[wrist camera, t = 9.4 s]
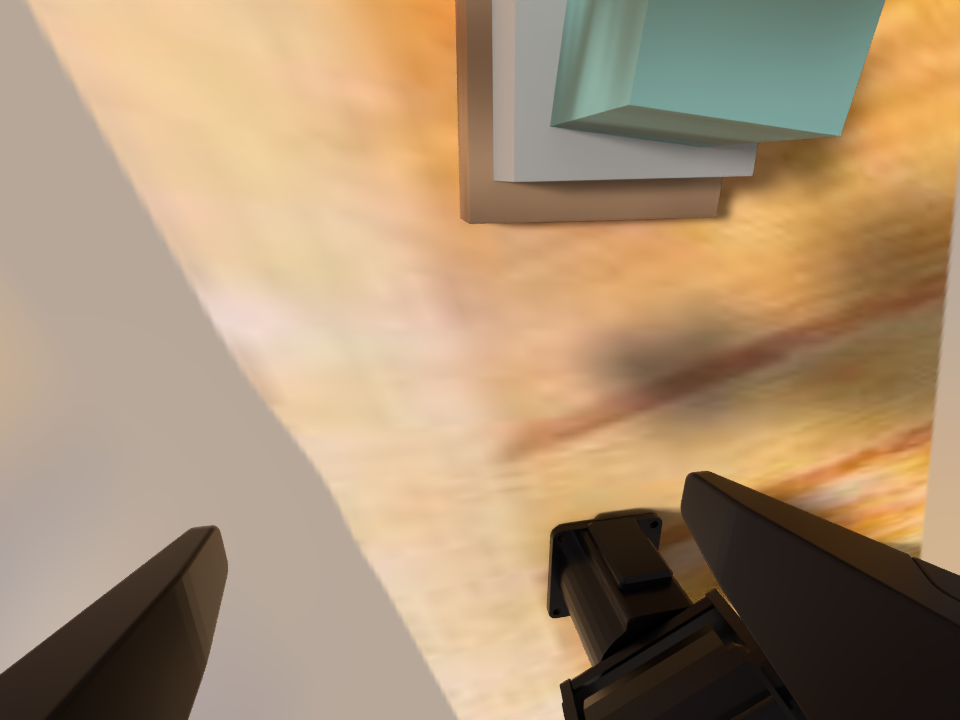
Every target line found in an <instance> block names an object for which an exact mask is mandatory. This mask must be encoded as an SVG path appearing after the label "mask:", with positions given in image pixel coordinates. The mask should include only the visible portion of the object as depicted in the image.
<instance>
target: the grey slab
mask: <svg viewBox="0 0 960 720" xmlns="http://www.w3.org/2000/svg"><path fill="white" fill-rule="evenodd" d="M566 5H567V0H492V55H493V170H494V180H495V181H508V182H534V181H573V180H612V179H651V178H690V177H729V176H752V175H753V170H754V164H755V159H756V153H757V147H758V143H746V144H733V145H721V146H708V147H698V146H691V145H683V144H676V143H669V142H661V141H654V140H646V139H639V138H631V137H624V136H616V135H609V134H602V133H594V132H587V131H579V130H572V129H564V128H557V127H550V122H551V115H552V107H553V100H554V93H555V85H556V78H557V71H558V64H559V56H560V49H561V42H562V34H563V27H564V20H565V12H566Z"/></svg>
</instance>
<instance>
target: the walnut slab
mask: <svg viewBox="0 0 960 720" xmlns="http://www.w3.org/2000/svg"><path fill="white" fill-rule="evenodd" d="M455 8H456V52H457V96H458V140H459V184H460V218H461V219H463V220H464V221H466V222H468V223H469V224H485V223H520V222H556V221H591V220H627V219H662V218H698V217H716V214H717V208H718V202H719V196H720V190H721V184H722V178H723V177H690V178H651V179H612V180H573V181H534V182H508V181H495V180H494V170H493V55H492V0H455Z"/></svg>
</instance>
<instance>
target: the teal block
mask: <svg viewBox="0 0 960 720" xmlns="http://www.w3.org/2000/svg"><path fill="white" fill-rule="evenodd" d="M884 3H885V0H567V5H566V12H565V20H564V27H563V34H562V42H561V49H560V56H559V64H558V71H557V78H556V85H555V93H554V100H553V107H552V115H551V122H550V127H557V128H564V129H572V130H579V131H587V132H594V133H602V134H609V135H616V136H624V137H631V138H639V139H646V140H654V141H661V142H669V143H676V144H683V145H691V146H698V147H708V146H721V145H733V144H746V143H759V142H772V141H785V140H798V139H811V138H824V137H836V136H841V133H842V130H843V127H844V123H845V120H846V117H847V114H848V111H849V108H850V105H851V102H852V99H853V96H854V93H855V90H856V87H857V84H858V81H859V78H860V75H861V72H862V69H863V66H864V63H865V60H866V57H867V54H868V51H869V48H870V45H871V42H872V39H873V36H874V33H875V30H876V27H877V24H878V21H879V18H880V15H881V12H882V9H883V6H884Z"/></svg>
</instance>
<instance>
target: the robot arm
mask: <svg viewBox="0 0 960 720" xmlns="http://www.w3.org/2000/svg"><path fill="white" fill-rule="evenodd" d="M681 514H682V517H683V519H684V521H685V523H686V525H687V526H688V528H689V530H690V532H691V534H692V536H693V538H694V539H695V541H696V543H697V545H698V547H699V549H700V551H701V553H702V554H703V556H704V558H705V560H706V562H707V564H708V566H709V568H710V569H711V571H712V573H713V575H714V577H715V578H716V580H717V582H718V584H719V585H720V587H721V588H722V590H723V592H724V593H725V595H726V596H727V598H728V599H729V601H730V602H731V604H732V605H733V607H734V609H735V610H736V612H737V613H738V615H739V616H740V617H739V616H738V615H737V613H736V612H735V611H734V610H733V609H732V608H731V606H730V605H729V604H728V603H727V602H726V601H725V599H724V598H723V597H722V596H721V595H720V594H719V592H718V591H717V590H716V589H715V588H714V589H713V590H711V591H710V592H708V593H706V594H705V595H706V597H704V598H703V599H701V600H699V601H698V602H696V603H695V604H693V603H692V601H691V600H690V598H689V597H688V596H687V594H686V593H685V591H684V590H683V589H682V587H681V586H680V584H679V583H678V582H677V580H676V579H675V577H674V576H673V572H672V570H671V569H670V567H669V566H668V564H667V563H666V562H665V560H664V559H663V557H662V556H661V555H660V553H659V552H658V547H659V541H660V534H661V528H662V520H661V519H660V517H659V516H658V515H657V514H656V513H648V514H641V515H634V516H627V517H620V518H613V519H606V520H599V521H593V522H586V523H579V524H572V525H565V526H559V527H556V528H554V529H553V530H552V532H551V535H550V554H549V574H548V594H547V610H548V613H549V616H550V617H551V618H560V617H566V616H571V618H572V620H573V622H574V625H575V627H576V630H577V632H578V634H579V637H580V639H581V642H582V644H583V646H584V649H585V651H586V654H587V656H588V658H589V661H590V663H591V666H592V667H591V668H589V669H588V670H586V671H585V672H583V673H581V674H580V675H578V676H577V677H575V678H573V679H572V680H571V679H568V680H566V681H564V682H563V683H561V684H560V689H561V694H562V699H563V703H562V708H563V712H564V717H565V720H960V576H959V575H957V574H954V573H952V572H950V571H947V570H945V569H942V568H940V567H937V566H935V565H933V564H930V563H928V562H925V561H923V560H921V559H918V558H916V557H912V558H911V557H910V556H909V555H908V554H906V553H904V552H901V551H899V550H896V549H894V548H892V547H889V546H887V545H884V544H882V543H880V542H877V541H875V540H873V539H870V538H868V537H865V536H863V535H861V534H858V533H856V532H853V531H851V530H849V529H846V528H844V527H841V526H839V525H837V524H834V523H832V522H829V521H827V520H825V519H822V518H820V517H817V516H815V515H813V514H810V513H808V512H806V511H803V510H801V509H798V508H796V507H794V506H791V505H789V504H786V503H784V502H782V501H779V500H777V499H774V498H772V497H770V496H767V495H765V494H762V493H760V492H758V491H755V490H753V489H750V488H748V487H746V486H743V485H741V484H739V483H736V482H734V481H731V480H729V479H727V478H724V477H722V476H719V475H717V474H715V473H712V472H709V471H700V472H692V473H690V474H688V475H687V477H686V480H685V485H684V490H683V495H682V500H681ZM653 521H654V522H653ZM560 535H562V536H561V537H559V536H560ZM227 574H228V561H227V557H226V553H225V548H224V544H223V540H222V536H221V532H220V530H219V528H218V527H217V526H215V525H212V526H202V527H195V528H191V529H189V530H188V531H186V532H185V533H184V534H182V535H181V536H180V537H178V538H177V539H176V540H175V541H173V542H172V543H171V544H169V545H168V546H167V547H165V548H164V549H163V550H162V551H160V552H159V553H158V554H156V555H155V556H154V557H152V558H151V559H150V560H149V561H148V562H146V563H145V564H143V565H142V566H141V567H139V568H138V569H137V570H135V571H134V572H133V573H132V574H130V575H129V576H128V577H126V578H125V579H124V580H123V581H121V582H120V583H119V584H117V585H116V586H115V587H114V588H112V589H111V590H109V591H108V592H107V593H106V594H104V595H103V596H102V597H101V598H99V599H98V600H96V601H95V602H94V603H93V604H91V605H90V606H89V607H87V608H86V609H85V610H84V611H82V612H81V613H80V614H78V615H77V616H76V617H74V618H73V619H72V620H70V621H69V622H68V623H67V624H65V625H64V626H63V627H61V628H60V629H59V630H57V631H56V632H55V633H54V634H52V635H51V636H50V637H48V638H47V639H46V640H45V641H43V642H42V643H41V644H40V645H38V646H37V647H35V648H34V649H33V650H31V651H30V652H29V653H27V654H26V655H25V656H24V657H22V658H21V659H20V660H18V661H17V662H16V663H14V664H13V665H12V666H11V667H9V668H8V669H7V670H5V671H4V672H3V673H1V674H0V720H188V718H189V715H190V713H191V710H192V707H193V704H194V701H195V698H196V695H197V692H198V689H199V686H200V683H201V681H202V678H203V674H204V671H205V668H206V665H207V661H208V657H209V653H210V649H211V645H212V640H213V635H214V632H215V627H216V623H217V618H218V614H219V609H220V605H221V601H222V596H223V592H224V588H225V583H226V579H227Z"/></svg>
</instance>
